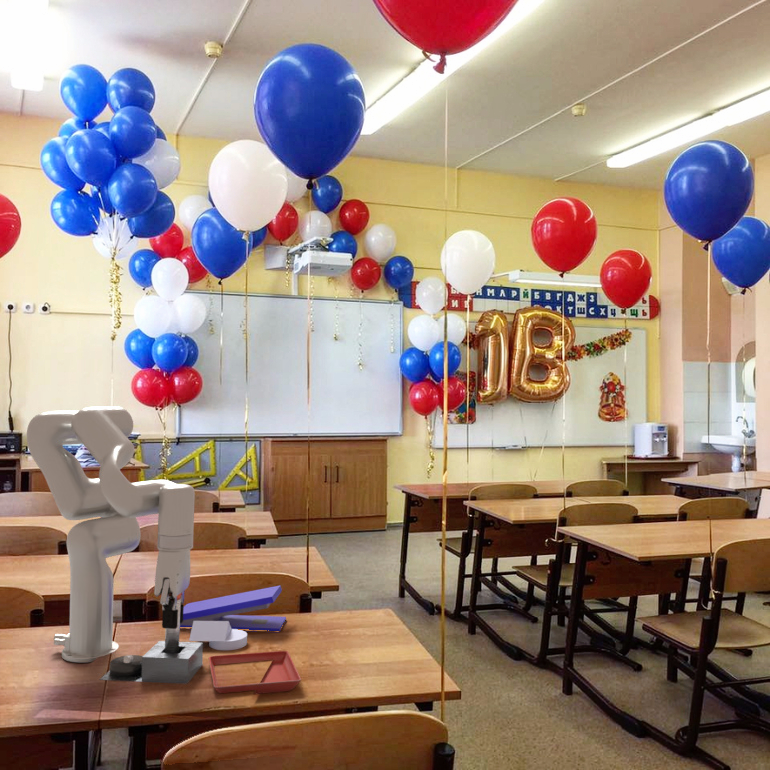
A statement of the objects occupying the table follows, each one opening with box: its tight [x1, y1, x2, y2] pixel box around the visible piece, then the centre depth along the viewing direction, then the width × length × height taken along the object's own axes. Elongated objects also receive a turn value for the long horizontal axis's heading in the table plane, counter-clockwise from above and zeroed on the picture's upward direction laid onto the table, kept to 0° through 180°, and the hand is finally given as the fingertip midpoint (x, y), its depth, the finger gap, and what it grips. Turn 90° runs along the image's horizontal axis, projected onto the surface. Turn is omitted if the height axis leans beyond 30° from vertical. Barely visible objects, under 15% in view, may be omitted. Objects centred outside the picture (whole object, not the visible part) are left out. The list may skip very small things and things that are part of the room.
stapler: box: [180, 585, 287, 632], centre depth 198 cm, size 12×28×10 cm, turn 88°
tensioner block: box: [98, 640, 204, 685], centre depth 161 cm, size 19×11×6 cm, turn 87°
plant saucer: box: [208, 650, 302, 695], centre depth 161 cm, size 18×18×3 cm
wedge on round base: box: [188, 621, 248, 651], centre depth 180 cm, size 9×7×13 cm
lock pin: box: [164, 593, 181, 653], centre depth 161 cm, size 3×3×13 cm
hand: (172, 624), depth 161 cm, fingers closed on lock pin, 3 cm apart
